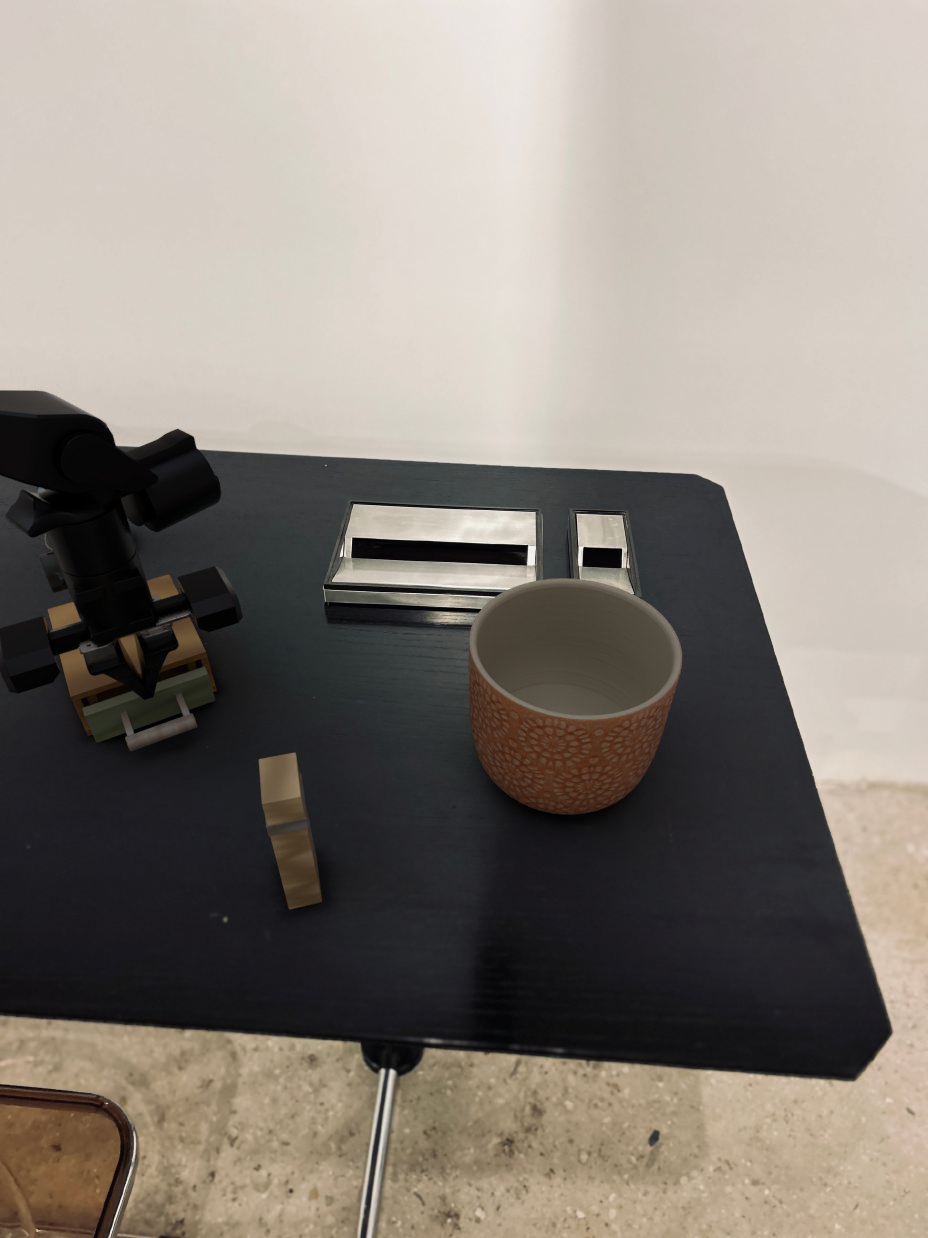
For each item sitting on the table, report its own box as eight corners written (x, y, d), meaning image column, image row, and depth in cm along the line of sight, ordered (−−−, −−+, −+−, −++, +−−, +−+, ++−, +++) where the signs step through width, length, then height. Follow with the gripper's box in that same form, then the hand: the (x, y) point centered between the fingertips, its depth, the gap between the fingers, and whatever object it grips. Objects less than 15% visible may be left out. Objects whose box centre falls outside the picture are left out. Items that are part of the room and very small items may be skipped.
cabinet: (216, 690, 79) (206, 651, 76) (88, 736, 74) (70, 696, 71) (180, 612, 89) (169, 573, 85) (64, 647, 84) (47, 609, 80)
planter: (679, 829, 67) (717, 706, 57) (483, 855, 65) (489, 731, 55) (618, 689, 80) (641, 569, 70) (454, 707, 78) (454, 586, 68)
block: (287, 911, 61) (260, 805, 52) (283, 865, 64) (257, 758, 55) (323, 903, 61) (302, 797, 53) (318, 857, 64) (296, 750, 56)
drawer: (229, 732, 74) (222, 705, 71) (106, 778, 69) (93, 751, 67) (180, 623, 86) (172, 597, 83) (72, 657, 81) (61, 631, 79)
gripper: (190, 480, 70) (223, 614, 80) (-43, 537, 63) (25, 676, 73) (227, 542, 62) (258, 681, 72) (-33, 614, 55) (42, 758, 65)
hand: (148, 695), depth 71 cm, fingers closed
